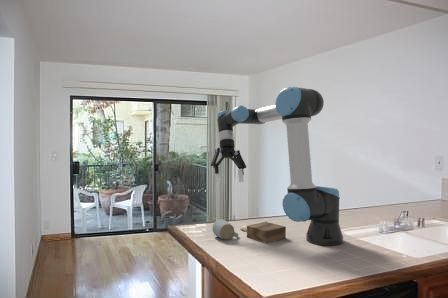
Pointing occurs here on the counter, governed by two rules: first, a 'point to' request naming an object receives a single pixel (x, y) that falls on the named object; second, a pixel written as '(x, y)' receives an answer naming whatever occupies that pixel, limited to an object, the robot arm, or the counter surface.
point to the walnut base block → (266, 232)
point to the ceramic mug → (224, 230)
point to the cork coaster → (243, 228)
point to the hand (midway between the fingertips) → (230, 181)
